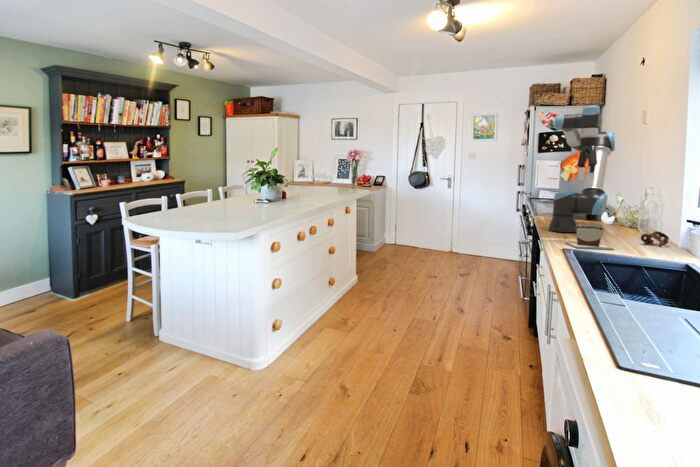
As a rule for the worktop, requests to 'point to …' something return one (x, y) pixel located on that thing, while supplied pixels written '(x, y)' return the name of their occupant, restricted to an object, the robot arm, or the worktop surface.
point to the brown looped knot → (655, 236)
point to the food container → (589, 234)
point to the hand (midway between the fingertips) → (585, 179)
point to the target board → (601, 247)
